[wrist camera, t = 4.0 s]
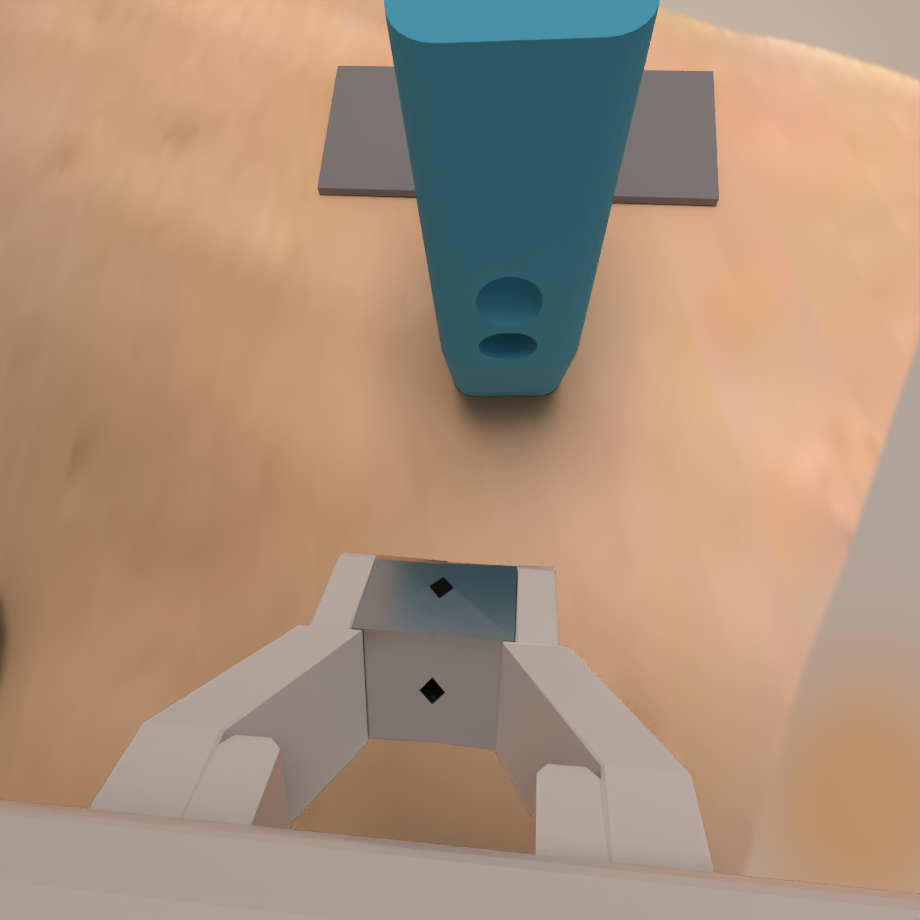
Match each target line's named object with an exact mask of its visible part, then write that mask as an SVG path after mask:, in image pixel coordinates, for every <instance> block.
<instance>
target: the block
mask: <svg viewBox="0 0 920 920" xmlns="http://www.w3.org/2000/svg"><path fill="white" fill-rule="evenodd" d="M384 5H385V14H386V20H387V26H388V32H389V38H390V44H391V50H392V56H393V62H394V68H395V74H396V80H397V86H398V92H399V97H400V103H401V109H402V115H403V121H404V127H405V133H406V139H407V145H408V151H409V157H410V163H411V169H412V175H413V181H414V187H415V193H416V199H417V205H418V210H419V216H420V222H421V228H422V234H423V240H424V246H425V252H426V258H427V264H428V270H429V276H430V282H431V288H432V294H433V300H434V306H435V312H436V318H437V323H438V329H439V335H440V341H441V347H442V352H443V354H444V357H445V359H446V362H447V365H448V367H449V370H450V372H451V375H452V378H453V380H454V383H455V385H456V387H457V388H458V389H459V390H460V391H461V392H462V393H464V394H466V395H469V396H542V395H547V394H549V393H551V392H553V391H554V390H555V389H556V388H557V387H558V385H559V384H560V382H561V380H562V378H563V376H564V375H565V373H566V371H567V369H568V367H569V366H570V364H571V362H572V360H573V358H574V356H575V354H576V352H577V349H578V346H579V341H580V337H581V333H582V329H583V324H584V320H585V316H586V312H587V307H588V303H589V299H590V295H591V291H592V286H593V282H594V278H595V274H596V269H597V265H598V261H599V257H600V252H601V248H602V244H603V240H604V235H605V231H606V227H607V223H608V219H609V214H610V210H611V206H612V202H613V197H614V193H615V189H616V185H617V180H618V176H619V172H620V168H621V163H622V159H623V155H624V151H625V147H626V142H627V138H628V134H629V130H630V125H631V121H632V117H633V113H634V108H635V104H636V100H637V96H638V91H639V87H640V83H641V79H642V75H643V70H644V66H645V62H646V58H647V53H648V49H649V45H650V41H651V36H652V32H653V28H654V24H655V19H656V15H657V11H658V7H659V0H384Z"/></svg>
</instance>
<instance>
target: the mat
mask: <svg viewBox="0 0 920 920" xmlns="http://www.w3.org/2000/svg"><path fill="white" fill-rule="evenodd" d="M318 190H319V193H320V194H325V195H360V196H395V197H416V193H415V187H414V181H413V175H412V169H411V163H410V157H409V151H408V145H407V139H406V133H405V127H404V121H403V115H402V109H401V103H400V97H399V92H398V86H397V80H396V74H395V68H394V67H379V66H338V68H337V74H336V80H335V86H334V92H333V98H332V104H331V110H330V116H329V122H328V128H327V134H326V140H325V146H324V152H323V158H322V164H321V170H320V176H319V182H318ZM718 200H719V192H718V169H717V147H716V125H715V102H714V80H713V71H651V70H643V75H642V79H641V83H640V87H639V91H638V96H637V100H636V104H635V108H634V113H633V117H632V121H631V125H630V130H629V134H628V138H627V142H626V147H625V151H624V155H623V159H622V163H621V168H620V172H619V176H618V180H617V185H616V189H615V193H614V197H613V202H612V203H640V204H675V205H709V206H716V204H717V202H718Z"/></svg>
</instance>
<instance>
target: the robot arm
mask: <svg viewBox="0 0 920 920" xmlns="http://www.w3.org/2000/svg"><path fill="white" fill-rule="evenodd" d="M368 738H372V739H388V740H403V741H419V742H433V743H442V744H450V745H458V746H467V747H475V748H483V749H492V750H496V754H497V756H498V758H499V760H500V762H501V763H502V765H503V767H504V769H505V771H506V772H507V774H508V776H509V778H510V780H511V781H512V783H513V785H514V787H515V789H516V790H517V792H518V794H519V796H520V798H521V799H522V801H523V803H524V805H525V807H526V808H527V810H528V812H529V814H530V816H531V817H532V820H531V829H530V838H529V847H528V853H519V852H509V851H499V850H490V849H480V848H470V847H460V846H450V845H441V844H431V843H421V842H411V841H401V840H392V839H382V838H372V837H362V836H352V835H343V834H333V833H323V832H313V831H303V830H293V829H291V826H290V824H291V823H292V822H293V821H294V820H295V819H296V818H297V817H298V815H299V814H300V813H301V812H302V811H303V810H304V809H305V808H306V807H307V806H308V805H309V804H310V803H311V802H312V801H313V800H314V799H315V798H316V797H317V795H318V794H319V793H320V792H321V791H322V790H323V789H324V788H325V787H326V786H327V785H328V784H329V783H330V782H331V781H332V780H333V779H334V778H335V776H336V775H337V774H338V773H339V772H340V771H341V770H342V769H343V768H344V767H345V766H346V765H347V764H348V763H349V762H350V761H351V760H352V759H353V757H354V756H355V755H356V754H357V753H358V752H359V751H360V750H361V749H362V748H363V747H364V746H365V745H366V744H367V743H368ZM0 920H920V894H919V893H909V892H898V891H889V890H880V889H870V888H859V887H850V886H840V885H829V884H820V883H810V882H800V881H790V880H781V879H771V878H760V877H751V876H741V875H731V874H722V873H714V869H713V865H712V860H711V856H710V852H709V848H708V843H707V839H706V835H705V831H704V827H703V822H702V818H701V814H700V810H699V806H698V801H697V797H696V793H695V789H694V784H693V780H692V776H691V774H690V773H689V772H688V771H687V770H686V769H685V768H684V767H683V766H682V765H681V763H680V762H679V761H678V760H677V759H676V758H675V757H674V756H673V755H672V754H671V753H670V752H669V751H668V750H667V749H666V748H665V747H664V745H663V744H662V743H661V742H660V741H659V740H658V739H657V738H656V737H655V736H654V735H653V734H652V733H651V732H650V731H649V730H648V729H647V727H646V726H645V725H644V724H643V723H642V722H641V721H640V720H639V719H638V718H637V717H636V716H635V715H634V714H633V713H632V712H631V711H630V709H629V708H628V707H627V706H626V705H625V704H624V703H623V702H622V701H621V700H620V699H619V698H618V697H617V696H616V695H615V694H614V693H613V691H612V690H611V689H610V688H609V687H608V686H607V685H606V684H605V683H604V682H603V681H602V680H601V679H600V678H599V677H598V676H597V675H596V673H595V672H594V671H593V670H592V669H591V668H590V667H589V666H588V665H587V664H586V663H585V662H584V661H583V660H582V659H581V658H580V657H579V656H578V654H577V653H576V652H575V651H574V650H573V649H572V648H571V647H565V646H560V644H559V625H558V606H557V588H556V571H555V569H554V568H553V567H542V566H518V569H517V566H503V565H486V564H470V563H453V562H448V561H439V560H428V559H417V558H407V557H396V556H385V555H379V556H377V555H374V554H360V553H347V552H344V553H343V554H341V555H340V556H339V557H338V559H337V561H336V563H335V566H334V568H333V570H332V573H331V575H330V577H329V580H328V582H327V584H326V587H325V589H324V591H323V593H322V596H321V598H320V600H319V603H318V605H317V607H316V610H315V612H314V614H313V617H312V619H311V621H310V623H309V626H305V625H297V626H296V627H294V628H293V629H291V630H289V631H288V632H286V633H285V634H283V635H282V636H280V637H278V638H277V639H275V640H274V641H272V642H270V643H269V644H267V645H266V646H264V647H262V648H261V649H259V650H258V651H256V652H255V653H253V654H251V655H250V656H248V657H247V658H245V659H243V660H242V661H240V662H239V663H237V664H236V665H234V666H232V667H231V668H229V669H228V670H226V671H224V672H223V673H221V674H220V675H218V676H216V677H215V678H213V679H212V680H210V681H209V682H207V683H205V684H204V685H202V686H201V687H199V688H197V689H196V690H194V691H193V692H191V693H189V694H188V695H186V696H185V697H183V698H182V699H180V700H178V701H177V702H175V703H174V704H172V705H170V706H169V707H167V708H166V709H164V710H162V711H161V712H159V713H158V714H156V715H155V716H153V717H151V718H150V719H148V720H147V721H145V722H143V724H142V725H141V727H140V728H139V730H138V731H137V733H136V735H135V736H134V738H133V739H132V741H131V742H130V744H129V746H128V747H127V749H126V750H125V752H124V753H123V755H122V757H121V758H120V760H119V761H118V763H117V764H116V766H115V768H114V769H113V771H112V772H111V774H110V775H109V777H108V779H107V780H106V782H105V783H104V785H103V786H102V788H101V790H100V791H99V793H98V794H97V796H96V797H95V799H94V801H93V802H92V804H91V805H90V807H89V808H78V807H68V806H58V805H49V804H39V803H29V802H19V801H9V800H0Z"/></svg>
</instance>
